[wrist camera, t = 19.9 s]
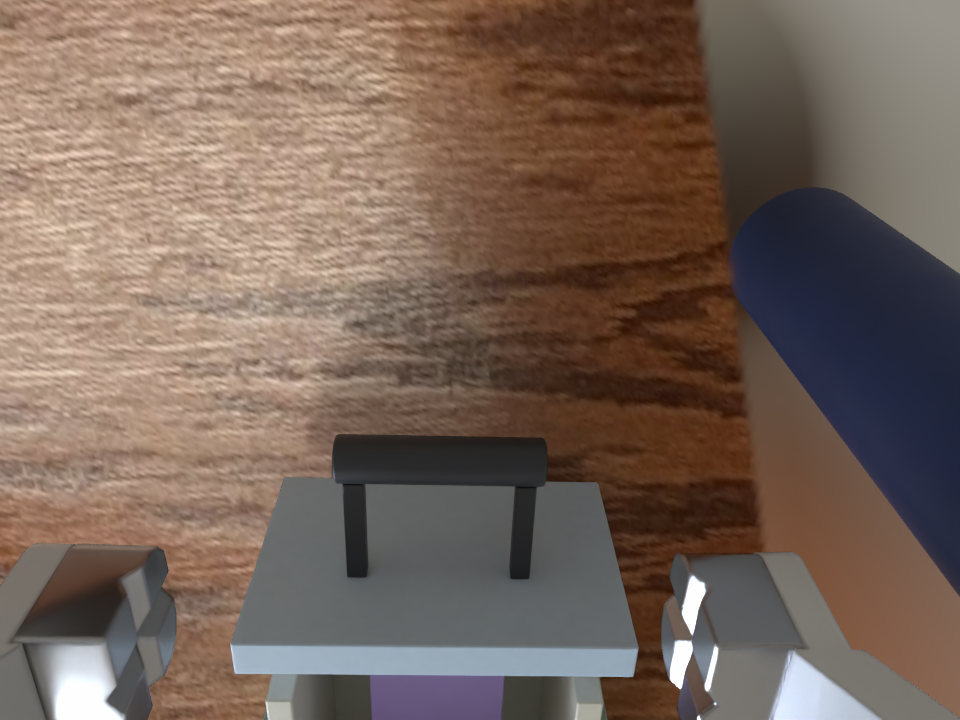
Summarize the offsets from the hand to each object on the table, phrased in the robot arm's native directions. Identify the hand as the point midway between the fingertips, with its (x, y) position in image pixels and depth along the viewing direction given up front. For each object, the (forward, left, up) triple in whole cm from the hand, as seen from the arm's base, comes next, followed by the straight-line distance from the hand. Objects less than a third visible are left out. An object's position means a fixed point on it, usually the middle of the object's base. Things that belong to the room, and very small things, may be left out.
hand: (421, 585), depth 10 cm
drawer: (0, +14, -16) cm, 22 cm away
